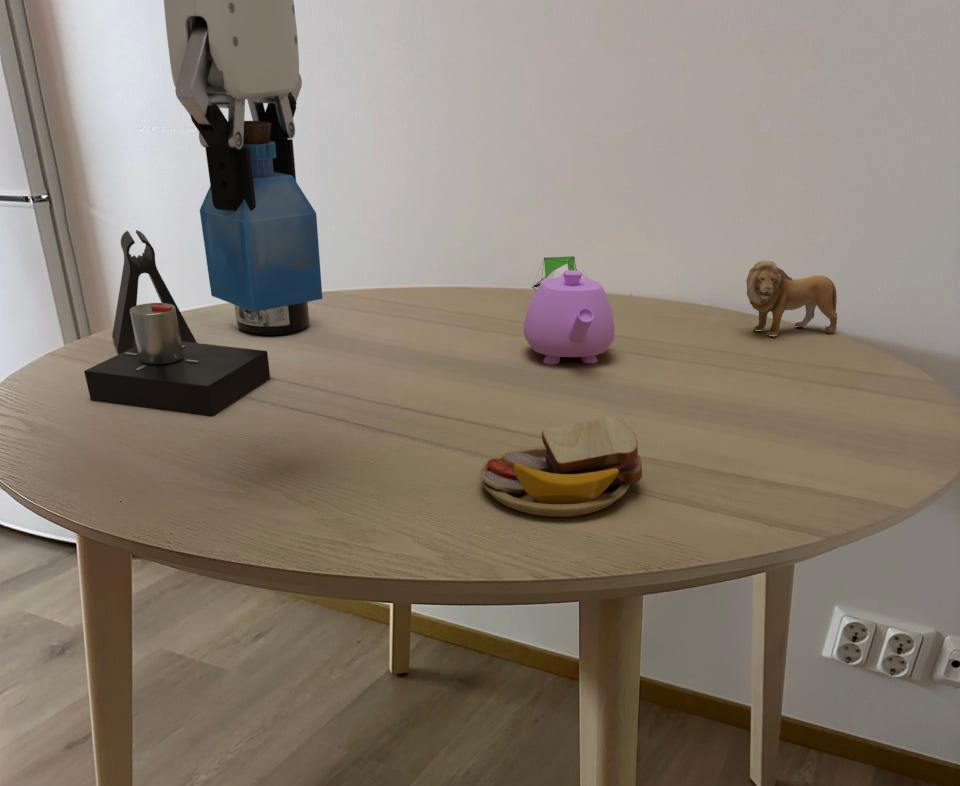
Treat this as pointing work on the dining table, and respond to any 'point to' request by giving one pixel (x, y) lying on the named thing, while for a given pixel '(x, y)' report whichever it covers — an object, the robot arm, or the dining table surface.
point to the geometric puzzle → (556, 267)
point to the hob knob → (156, 333)
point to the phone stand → (129, 289)
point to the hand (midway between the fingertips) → (256, 200)
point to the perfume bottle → (263, 237)
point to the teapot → (569, 319)
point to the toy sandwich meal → (567, 470)
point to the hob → (180, 379)
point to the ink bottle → (273, 319)
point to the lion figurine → (789, 295)
